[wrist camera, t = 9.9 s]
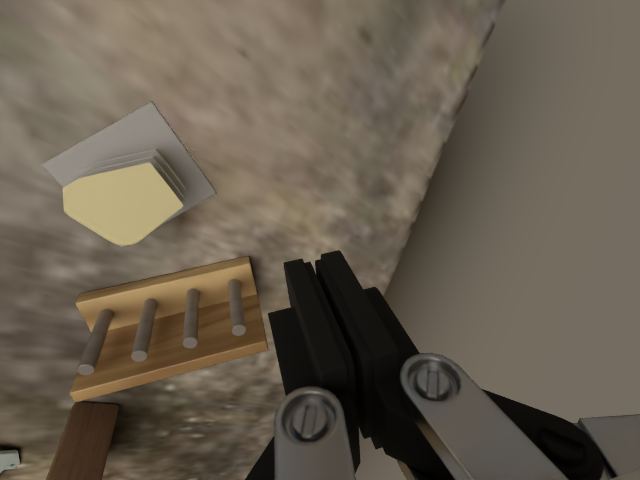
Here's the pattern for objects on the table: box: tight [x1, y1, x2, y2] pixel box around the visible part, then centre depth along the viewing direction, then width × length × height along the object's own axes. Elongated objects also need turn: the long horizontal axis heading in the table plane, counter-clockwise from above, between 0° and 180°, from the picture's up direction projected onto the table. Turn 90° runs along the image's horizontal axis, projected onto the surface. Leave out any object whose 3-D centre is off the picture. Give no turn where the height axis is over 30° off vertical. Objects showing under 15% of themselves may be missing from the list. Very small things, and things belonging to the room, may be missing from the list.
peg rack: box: [70, 256, 268, 402], centre depth 34 cm, size 5×16×8 cm, turn 96°
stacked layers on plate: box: [42, 102, 216, 247], centre depth 29 cm, size 10×9×6 cm
